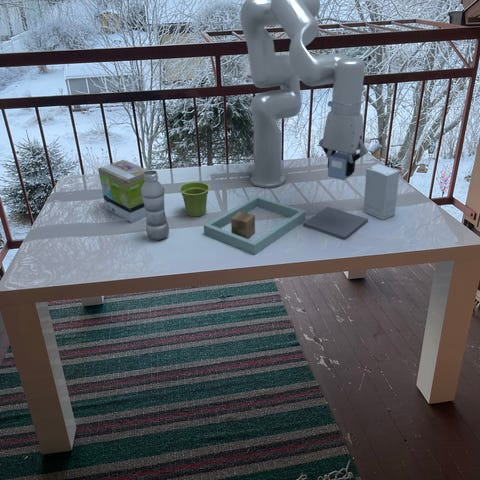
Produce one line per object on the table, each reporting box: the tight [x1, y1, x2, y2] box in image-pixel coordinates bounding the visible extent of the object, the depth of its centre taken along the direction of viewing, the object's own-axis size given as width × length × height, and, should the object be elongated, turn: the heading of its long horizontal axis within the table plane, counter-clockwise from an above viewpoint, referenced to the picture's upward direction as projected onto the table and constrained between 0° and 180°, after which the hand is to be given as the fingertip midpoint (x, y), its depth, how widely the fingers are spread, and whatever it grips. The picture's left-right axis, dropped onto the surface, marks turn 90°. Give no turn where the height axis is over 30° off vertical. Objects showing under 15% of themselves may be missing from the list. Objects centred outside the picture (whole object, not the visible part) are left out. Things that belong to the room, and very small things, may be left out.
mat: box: [302, 206, 369, 241], centre depth 142 cm, size 14×14×1 cm
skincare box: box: [362, 163, 400, 221], centre depth 144 cm, size 8×6×15 cm
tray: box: [203, 195, 307, 255], centre depth 141 cm, size 19×25×3 cm
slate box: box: [327, 151, 353, 181], centre depth 133 cm, size 5×5×6 cm
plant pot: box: [179, 181, 211, 217], centre depth 149 cm, size 9×9×9 cm
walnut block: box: [230, 212, 256, 240], centre depth 136 cm, size 5×5×6 cm
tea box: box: [97, 159, 150, 224], centre depth 149 cm, size 15×10×15 cm, turn 47°
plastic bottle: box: [141, 170, 170, 240], centre depth 133 cm, size 6×7×20 cm
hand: (340, 171), depth 134 cm, fingers closed on slate box, 5 cm apart
